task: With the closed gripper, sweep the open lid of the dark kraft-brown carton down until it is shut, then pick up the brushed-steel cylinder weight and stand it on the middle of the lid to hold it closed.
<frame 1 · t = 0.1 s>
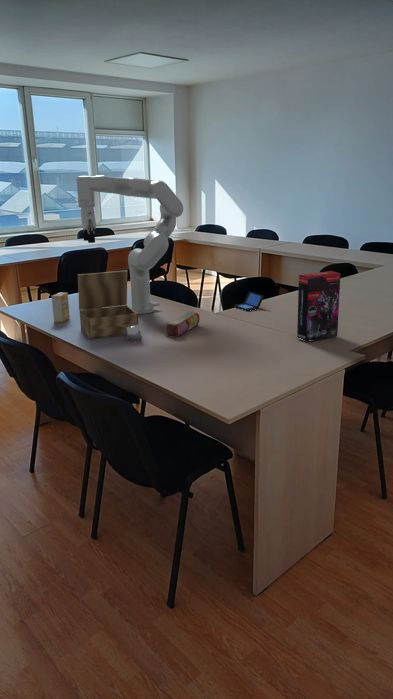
hand: (89, 241, 246), 37 cm above the table, tool pointing down, fingers open, 9 cm apart
handheld game console: (248, 308, 271), on the table
snack package: (183, 331, 233), on the table
ink cartridge box: (92, 308, 276), on the table
carton: (109, 331, 234), on the table
carton lid: (103, 290, 234), point 17 cm above the table, hinge at 75.0°
graphics card box: (316, 338, 220), on the table
supplement box: (62, 321, 252), on the table
steel weight: (133, 339, 221), on the table
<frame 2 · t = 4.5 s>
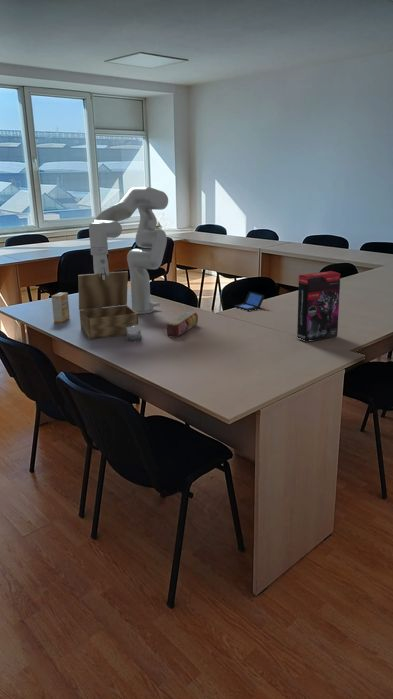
hand: (102, 291, 236), 16 cm above the table, tool pointing down, fingers closed
carton lid: (103, 290, 234), point 17 cm above the table, hinge at 72.5°, touching gripper
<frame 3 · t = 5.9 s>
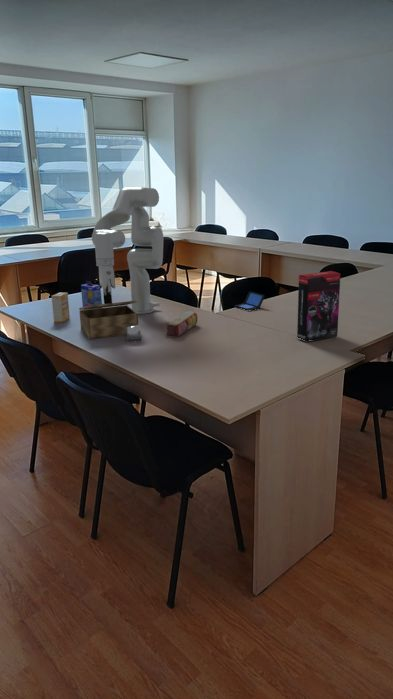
hand: (108, 303, 229), 13 cm above the table, tool pointing down, fingers closed
carton lid: (107, 305, 230), point 12 cm above the table, hinge at 15.8°, touching gripper
everything else where it was.
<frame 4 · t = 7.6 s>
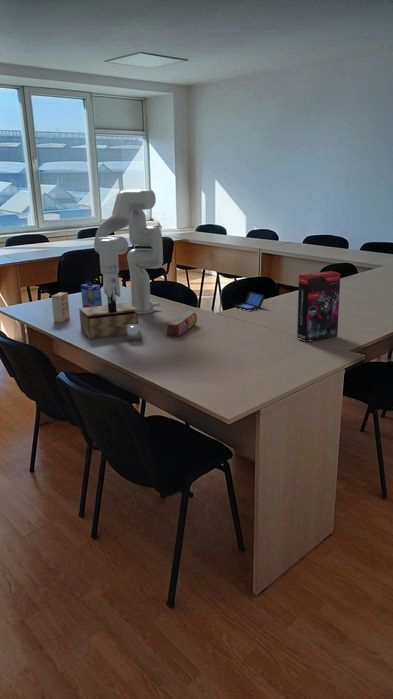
hand: (112, 311, 223), 11 cm above the table, tool pointing down, fingers closed
carton lid: (108, 309, 230), point 10 cm above the table, hinge at 3.2°, touching gripper
everything else where it was.
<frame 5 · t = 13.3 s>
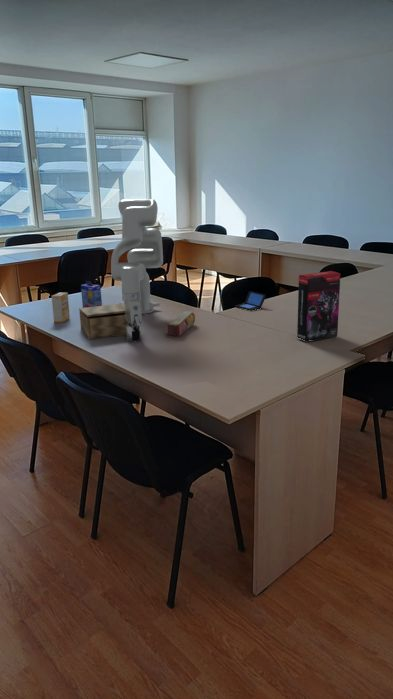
hand: (133, 337, 221), 1 cm above the table, tool pointing down, fingers closed on steel weight, 6 cm apart
carton lid: (108, 309, 230), point 10 cm above the table, hinge at 3.0°
steel weight: (133, 339, 221), on the table, touching gripper
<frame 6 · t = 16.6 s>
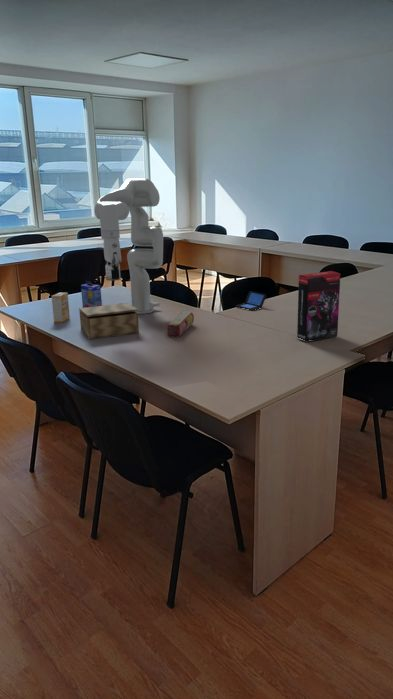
hand: (113, 277, 222), 25 cm above the table, tool pointing down, fingers closed on steel weight, 6 cm apart
steel weight: (113, 279, 222), point 24 cm above the table, touching gripper
when the fingers open (12 cm above the table, at t = 20.0 s): steel weight drops 2 cm, resting on carton lid.
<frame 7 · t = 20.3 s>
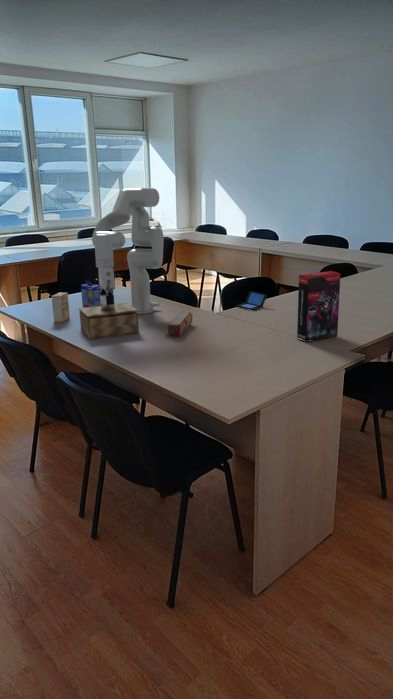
hand: (107, 302, 229), 13 cm above the table, tool pointing down, fingers open, 9 cm apart
carton lid: (108, 310, 231), point 10 cm above the table, hinge at 1.8°, touching steel weight
steel weight: (108, 309, 230), point 10 cm above the table, touching carton lid
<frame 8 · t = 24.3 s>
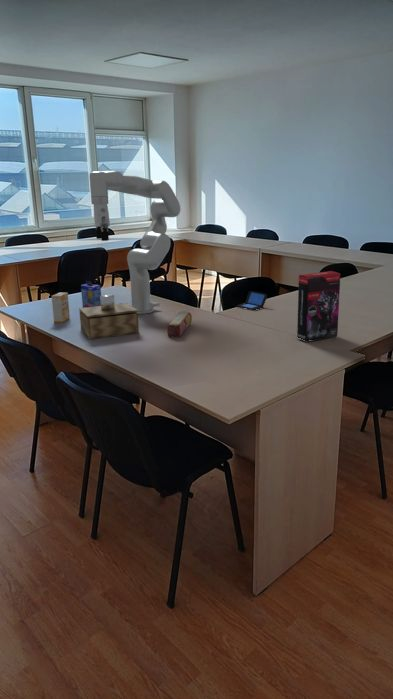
hand: (102, 239, 239), 38 cm above the table, tool pointing down, fingers open, 9 cm apart
at the end: carton lid at +2° (first picture: +75°); steel weight inside the target area on the carton (0.1 cm from its centre), point 10.1 cm above the carton's base; steel weight tilted 2° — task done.
